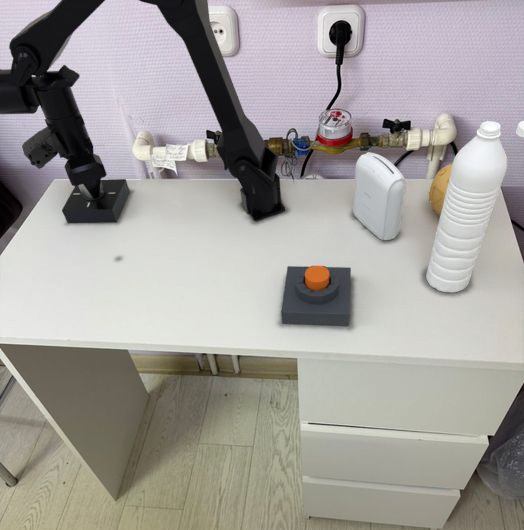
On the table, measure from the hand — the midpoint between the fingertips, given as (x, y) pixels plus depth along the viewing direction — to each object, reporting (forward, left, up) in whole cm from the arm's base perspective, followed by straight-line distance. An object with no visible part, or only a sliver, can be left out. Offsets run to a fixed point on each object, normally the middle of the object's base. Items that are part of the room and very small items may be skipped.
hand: (93, 191), depth 96 cm
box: (-25, +44, -4) cm, 51 cm away
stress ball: (-56, +38, -4) cm, 67 cm away
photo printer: (-43, +33, -4) cm, 54 cm away
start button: (-25, +44, +1) cm, 51 cm away
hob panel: (0, 0, -4) cm, 4 cm away
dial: (0, 0, 0) cm, 0 cm away
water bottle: (-46, +51, -4) cm, 68 cm away
